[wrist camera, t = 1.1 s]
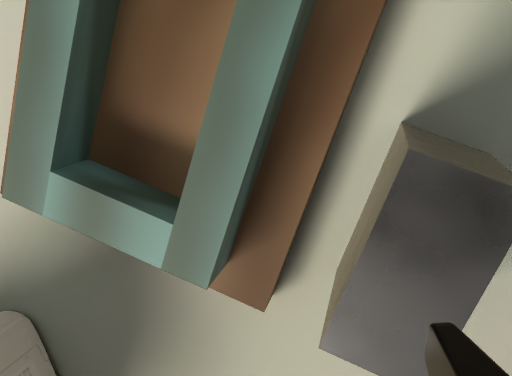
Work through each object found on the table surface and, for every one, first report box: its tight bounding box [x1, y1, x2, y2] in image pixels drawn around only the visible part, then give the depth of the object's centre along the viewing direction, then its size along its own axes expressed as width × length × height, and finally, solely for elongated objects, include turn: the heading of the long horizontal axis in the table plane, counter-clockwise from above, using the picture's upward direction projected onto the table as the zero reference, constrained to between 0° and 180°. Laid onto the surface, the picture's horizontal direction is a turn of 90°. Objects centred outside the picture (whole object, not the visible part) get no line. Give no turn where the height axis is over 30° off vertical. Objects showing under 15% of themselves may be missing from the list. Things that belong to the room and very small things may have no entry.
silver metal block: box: [319, 122, 512, 376], centre depth 16 cm, size 4×7×6 cm, turn 162°
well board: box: [0, 0, 387, 312], centre depth 18 cm, size 14×16×4 cm
